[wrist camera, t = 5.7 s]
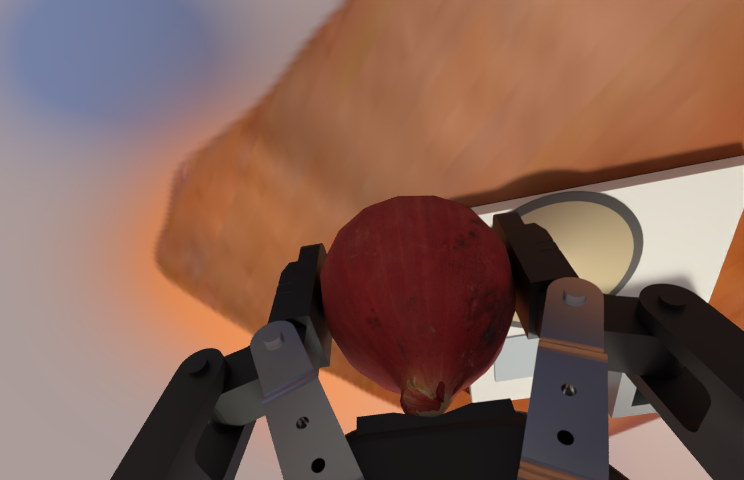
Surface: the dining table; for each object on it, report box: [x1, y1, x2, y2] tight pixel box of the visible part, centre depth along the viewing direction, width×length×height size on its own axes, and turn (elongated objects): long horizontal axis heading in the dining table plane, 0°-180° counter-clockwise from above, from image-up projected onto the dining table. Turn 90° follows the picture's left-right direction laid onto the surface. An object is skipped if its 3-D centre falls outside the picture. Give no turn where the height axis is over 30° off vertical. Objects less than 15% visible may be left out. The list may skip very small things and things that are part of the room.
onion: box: [320, 196, 516, 417], centre depth 12 cm, size 6×6×8 cm
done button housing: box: [608, 371, 656, 418], centre depth 28 cm, size 7×7×4 cm
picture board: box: [469, 155, 744, 403], centre depth 28 cm, size 20×17×1 cm
